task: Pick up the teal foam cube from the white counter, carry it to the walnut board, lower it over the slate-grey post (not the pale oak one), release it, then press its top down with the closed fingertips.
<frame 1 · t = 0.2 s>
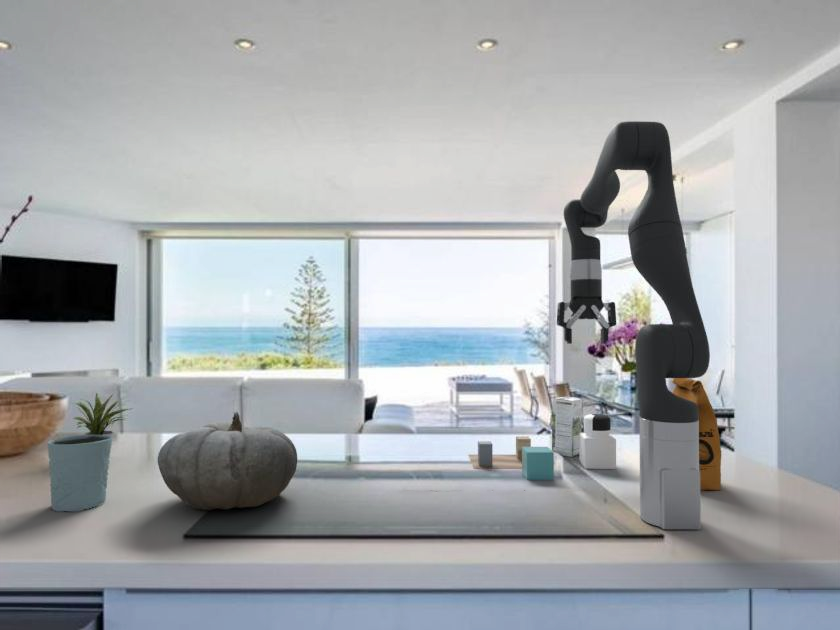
hand: (586, 343, 140), 29 cm above the kitchen island, fingers open, 8 cm apart
medicine bottle: (597, 466, 133), on the kitchen island
blue planter pot: (79, 505, 103), on the kitchen island
house plant: (96, 460, 138), on the kitchen island
teal foam cube: (537, 480, 120), on the kitchen island
coffee package: (691, 484, 118), on the kitchen island
post slate: (485, 464, 130), resting on board
gourd: (229, 502, 106), on the kitchen island
board: (504, 465, 133), on the kitchen island
syrup box: (567, 455, 145), on the kitchen island
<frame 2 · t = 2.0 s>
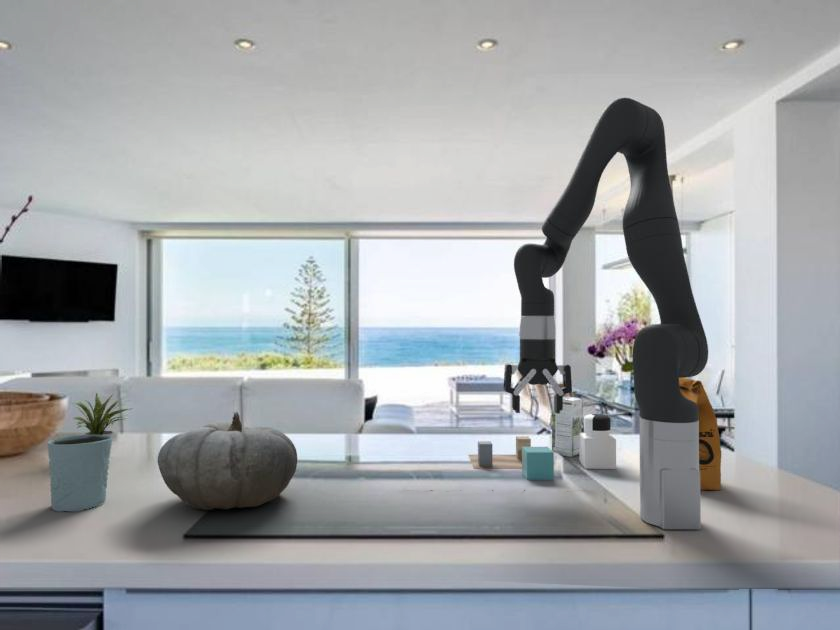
hand: (537, 412, 120), 14 cm above the kitchen island, fingers open, 8 cm apart
nothing on the kitchen island moved.
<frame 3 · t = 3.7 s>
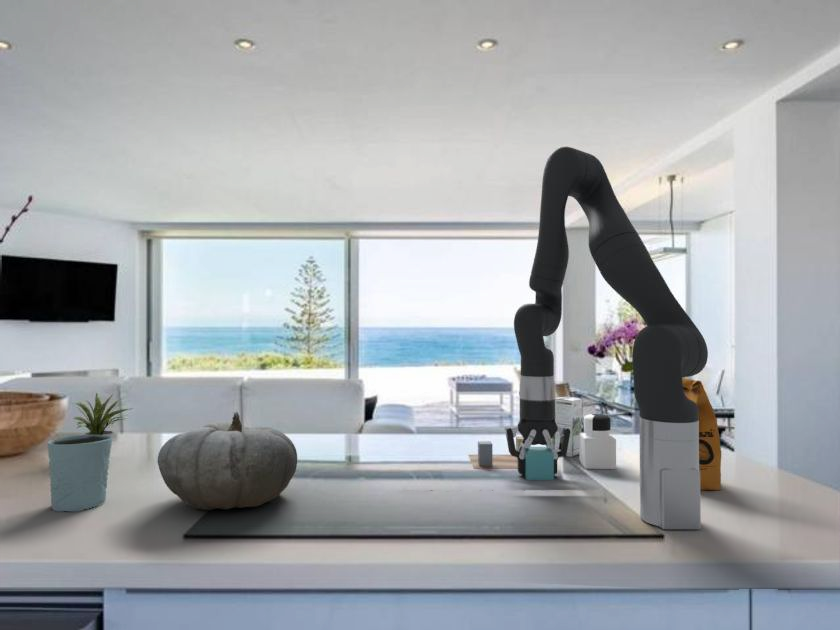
hand: (537, 475, 120), 1 cm above the kitchen island, fingers closed on teal foam cube, 5 cm apart
teal foam cube: (537, 480, 120), on the kitchen island, touching gripper
everything else where it was.
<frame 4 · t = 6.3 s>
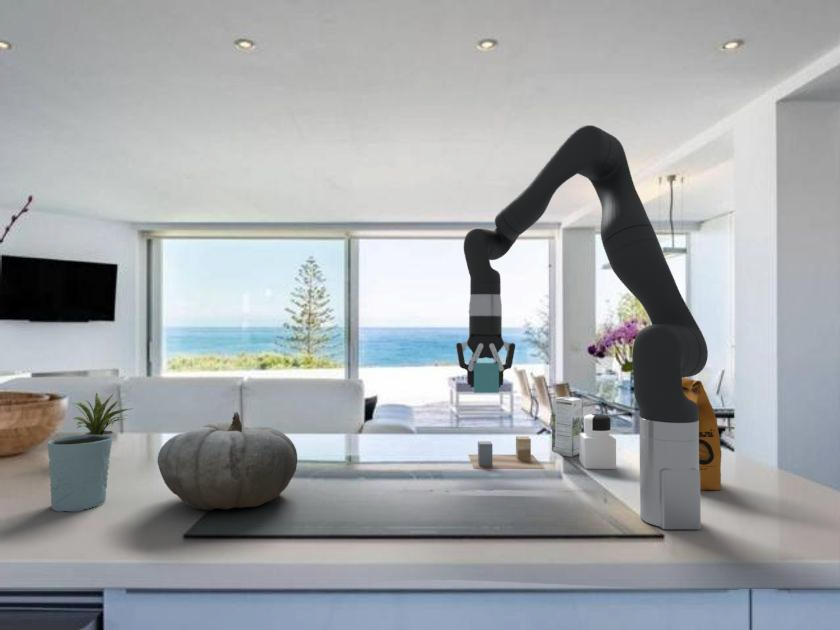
hand: (485, 386, 130), 19 cm above the kitchen island, fingers closed on teal foam cube, 5 cm apart
teal foam cube: (485, 391, 130), point 18 cm above the kitchen island, touching gripper
everything else where it was.
when the fingers open (3 cm above the kitchen island, at t = 9.0 s): teal foam cube drops 1 cm, resting on board.
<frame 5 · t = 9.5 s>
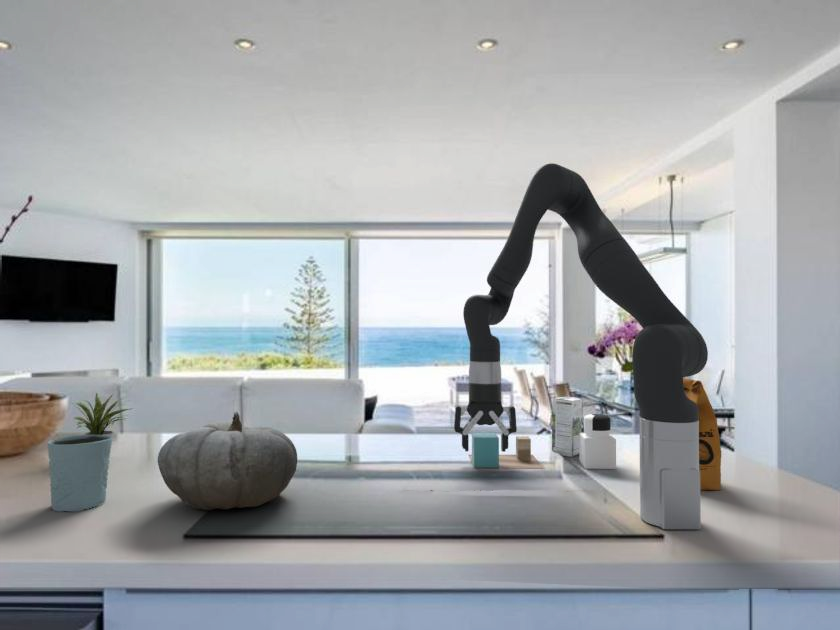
hand: (485, 450, 130), 4 cm above the kitchen island, fingers open, 8 cm apart
teal foam cube: (485, 464, 130), point 1 cm above the kitchen island, touching board
everything else where it was.
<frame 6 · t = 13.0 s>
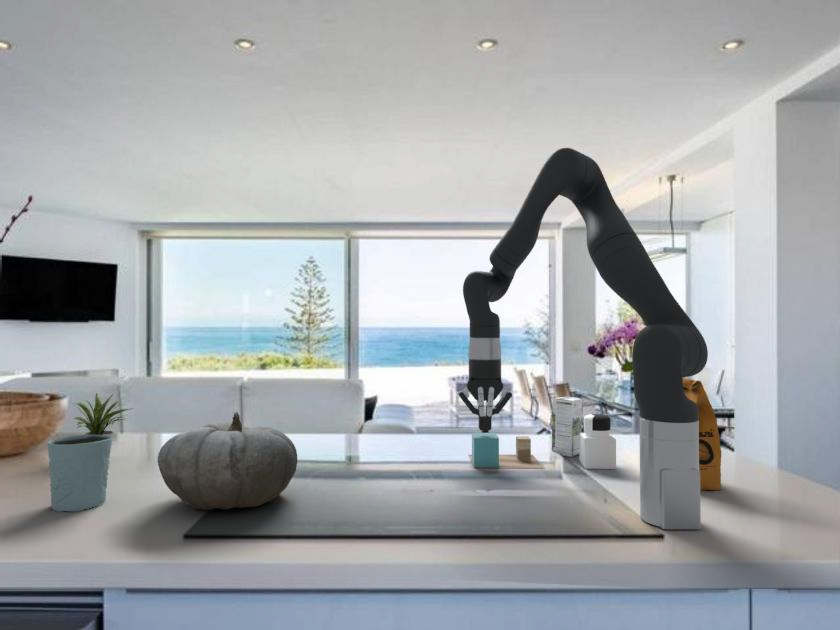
hand: (485, 432, 130), 8 cm above the kitchen island, fingers closed
nothing on the kitchen island moved.
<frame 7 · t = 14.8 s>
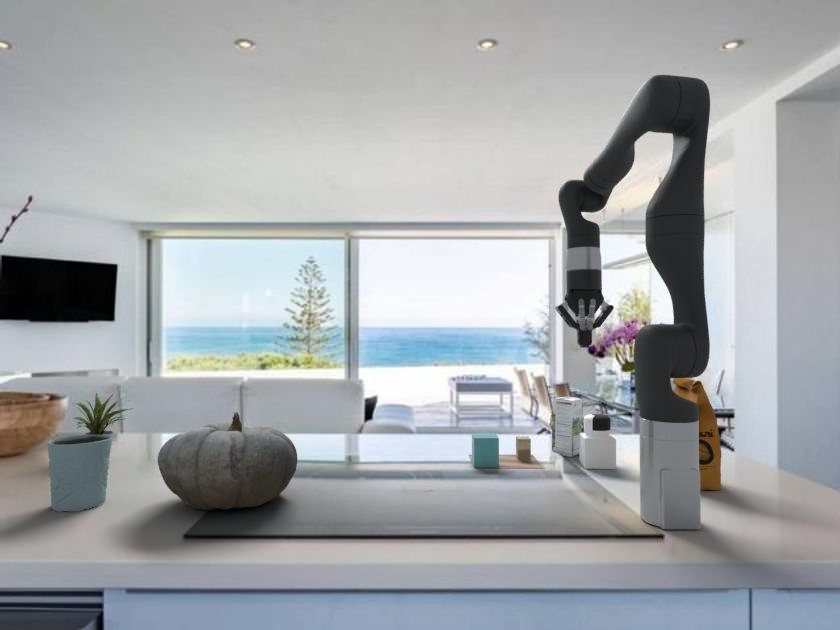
hand: (584, 347, 124), 28 cm above the kitchen island, fingers closed
nothing on the kitchen island moved.
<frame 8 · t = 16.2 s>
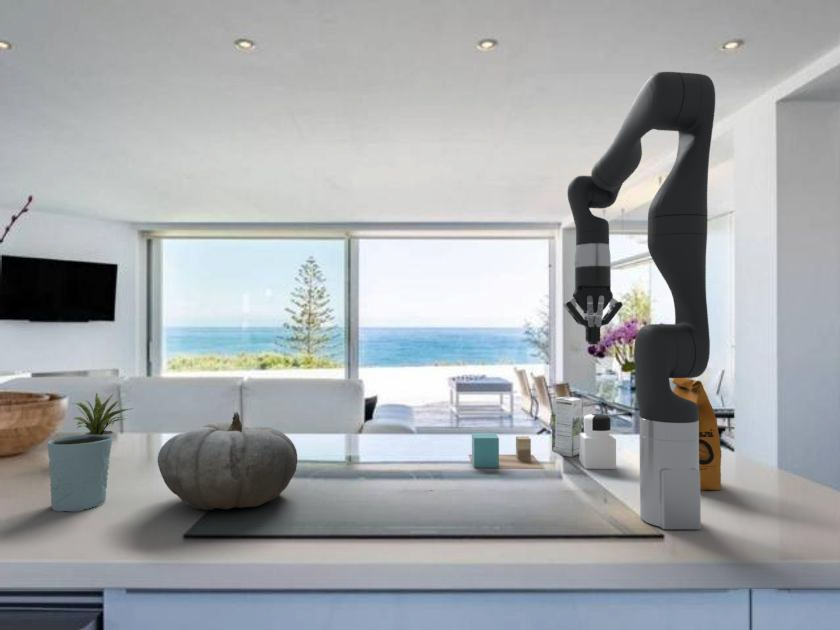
hand: (593, 344, 124), 29 cm above the kitchen island, fingers closed
nothing on the kitchen island moved.
at the end: teal foam cube 0.0 cm from the post slate (horizontally); teal foam cube point 1.0 cm above the kitchen island; the gripper is holding nothing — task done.
